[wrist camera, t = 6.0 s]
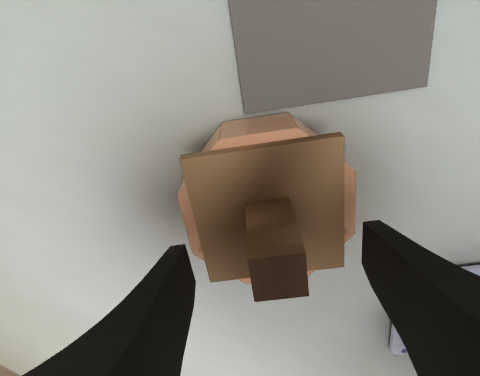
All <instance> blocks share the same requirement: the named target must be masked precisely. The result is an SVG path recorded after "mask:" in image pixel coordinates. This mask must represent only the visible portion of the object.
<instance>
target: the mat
mask: <svg viewBox="0 0 480 376" xmlns="http://www.w3.org/2000/svg"><path fill="white" fill-rule="evenodd" d="M436 6H437V0H229V7H230V14H231V21H232V28H233V35H234V42H235V49H236V56H237V63H238V70H239V77H240V84H241V91H242V98H243V105H244V112H245V114H249V113H256V112H262V111H269V110H275V109H282V108H289V107H295V106H302V105H309V104H315V103H322V102H328V101H335V100H342V99H348V98H355V97H362V96H368V95H375V94H381V93H388V92H395V91H401V90H408V89H415V88H421V87H427V83H428V74H429V65H430V57H431V48H432V40H433V31H434V23H435V14H436Z"/></svg>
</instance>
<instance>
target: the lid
mask: <svg viewBox="0 0 480 376" xmlns="http://www.w3.org/2000/svg"><path fill="white" fill-rule="evenodd" d="M179 161H180V165H181V169H182V173H183V177H184V181H185V185H186V189H187V193H188V197H189V201H190V204H191V208H192V212H193V216H194V220H195V224H196V228H197V232H198V236H199V240H200V244H201V248H202V252H203V255H204V259H205V263H206V267H207V271H208V275H209V279H210V282H218V281H226V280H235V279H244V278H250V279H251V284H252V290H253V296H254V301H255V302H259V301H268V300H277V299H286V298H295V297H304V296H309V290H308V276H307V271H313V270H321V269H330V268H339V267H344V135H343V134H342V133H341V132H337V133H330V134H323V135H316V136H309V137H302V138H295V139H288V140H281V141H274V142H267V143H260V144H253V145H246V146H239V147H232V148H226V149H219V150H212V151H205V152H198V153H191V154H184V155H181V157H180V159H179Z"/></svg>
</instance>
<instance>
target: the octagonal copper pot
mask: <svg viewBox="0 0 480 376" xmlns="http://www.w3.org/2000/svg"><path fill="white" fill-rule="evenodd" d="M316 135H317V134H316V133H314V132H313V131H312V130H311V129H309V128H308V127H307V126H306V125H304V124H303V123H302V122H300V121H299V120H298V119H297V118H295V117H294V116H293V115H292V114H290V113H288V112H286V113H279V114H272V115H266V116H259V117H252V118H246V119H239V120H232V121H226V122H223V123H221V124H220V126H219V127H218V128H217V130H216V131H215V133H214V134H213V135H212V137H211V138H210V140H209V141H208V142H207V144H206V145H205V147H204V148H203V149H202V151H201V152H205V151H212V150H219V149H226V148H232V147H239V146H246V145H253V144H260V143H267V142H274V141H281V140H288V139H295V138H302V137H309V136H316ZM355 185H356V172H355V171H354V170H353V168H352V167H351V166H350V165H349V164H348V163H347V161H346V160H345V159H344V243H345V242H346V241H348V240H349V239H350V238H351V237H352V236H353V235H354V234H355ZM177 198H178V202H179V205H180V209H181V213H182V216H183V220H184V224H185V227H186V231H187V235H188V238H189V242H190V246H191V249H192V253H194V255H196V256H197V257H199V258H201V259H203V260H204V261H205V259H204V255H203V252H202V248H201V244H200V240H199V236H198V232H197V228H196V224H195V220H194V216H193V212H192V208H191V204H190V201H189V197H188V193H187V189H186V185H185V181H184V180H183V183H182V185H181V188H180V190H179V193H178V195H177ZM314 271H315V270H313V271H307V276H309V275H310V274H312V273H313V272H314ZM238 280H240V281H242V282H244V283H246V284H247V283H251V279H250V278H244V279H238Z"/></svg>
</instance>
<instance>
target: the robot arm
mask: <svg viewBox="0 0 480 376" xmlns="http://www.w3.org/2000/svg"><path fill="white" fill-rule="evenodd" d="M362 265H363V267H364V270H365V273H366V275H367V277H368V280H369V282H370V285H371V287H372V288H373V290H374V292H375V294H376V296H377V297H378V299H379V301H380V303H381V305H382V306H383V308H384V310H385V312H386V313H387V315H388V317H389V319H390V320H391V322H392V328H391V337H390V347H389V349H390V351H391V353H392V354H393V355H407V354H409V357H410V359H411V361H412V363H413V366H414V368H415V370H416V372H417V374H418V376H480V265H473V266H464V267H459V266H457V265H455V264H453V263H451V262H449V261H447V260H446V259H444V258H442V257H440V256H438V255H436V254H434V253H433V252H431V251H429V250H427V249H426V248H424V247H422V246H420V245H419V244H417V243H415V242H414V241H412V240H410V239H409V238H407V237H406V236H404V235H402V234H401V233H399V232H398V231H396V230H394V229H393V228H391V227H390V226H388V225H386V224H385V223H383V222H381V221H380V220H375V221H367V222H363V237H362ZM195 285H196V281H195V278H194V274H193V271H192V267H191V263H190V260H189V256H188V253H187V249H186V246H185V244H183V245H175V246H170V247H169V249H168V250H167V251H166V252H165V253H164V254H163V256H162V257H161V258H160V259H159V261H158V262H157V263H156V264H155V265H154V267H153V268H152V269H151V270H150V271H149V272H148V274H147V275H146V276H145V277H144V278H143V279H142V281H141V282H140V283H139V284H138V285H137V286H136V287H135V288H134V289H133V290H132V291H131V292H130V293H129V294H128V295H127V296H126V298H125V299H124V300H123V301H122V302H121V303H119V304H118V305H117V306H116V307H115V308H114V309H113V310H112V311H111V312H110V313H109V314H107V315H106V316H105V317H104V318H103V319H102V320H101V321H99V322H98V323H97V324H96V325H94V326H93V327H92V328H91V329H89V330H88V331H87V332H86V333H84V334H83V335H82V336H81V337H79V338H78V339H77V340H75V341H74V342H73V343H71V344H70V345H68V346H67V347H66V348H64V349H63V350H61V351H60V352H58V353H57V354H55V355H54V356H52V357H51V358H50V359H48V360H46V361H45V362H43V363H42V364H40V365H39V366H37V367H35V368H34V369H32V370H30V371H29V372H27V373H25V374H24V375H22V376H180V374H181V367H182V361H183V355H184V351H185V346H186V341H187V336H188V332H189V327H190V322H191V317H192V312H193V307H194V298H195Z"/></svg>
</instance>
